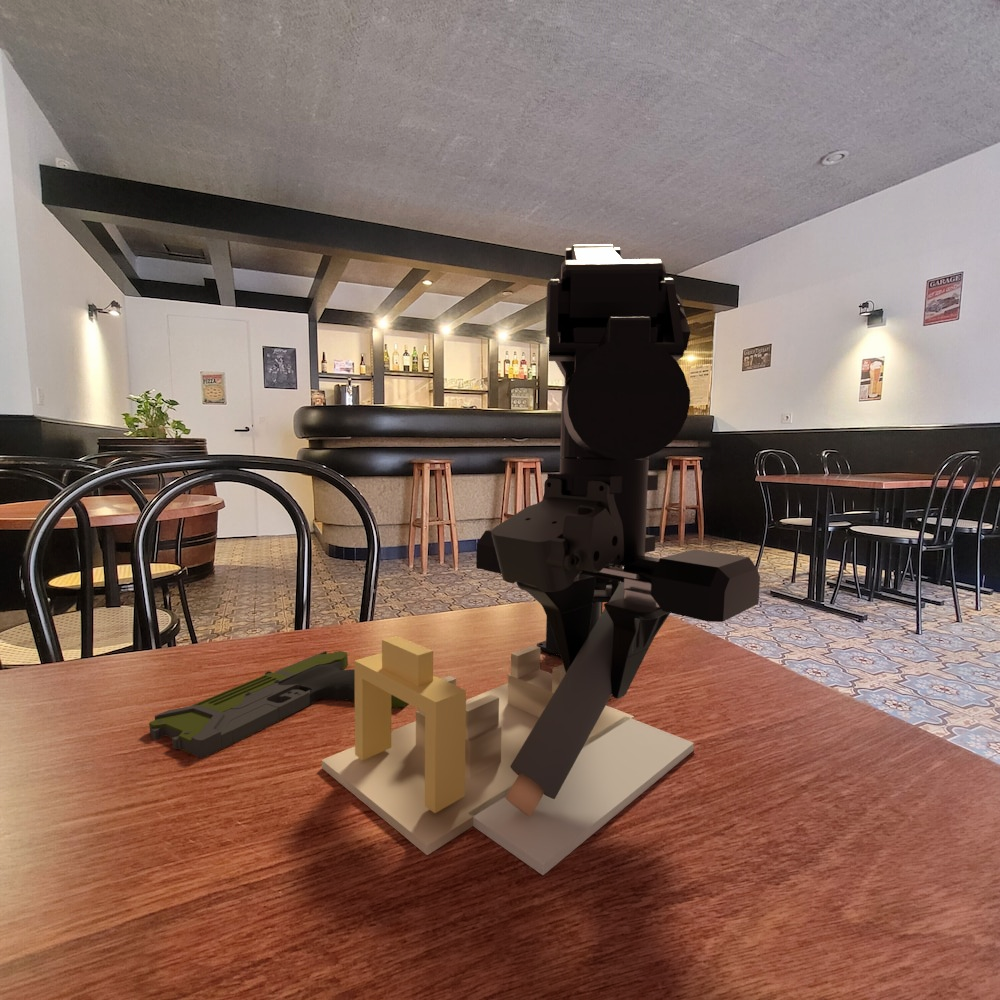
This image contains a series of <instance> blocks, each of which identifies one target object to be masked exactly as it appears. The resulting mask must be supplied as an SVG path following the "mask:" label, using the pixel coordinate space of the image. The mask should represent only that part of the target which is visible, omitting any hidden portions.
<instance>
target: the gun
mask: <svg viewBox="0 0 1000 1000" xmlns="http://www.w3.org/2000/svg"><path fill="white" fill-rule="evenodd" d="M348 664H349V663H348V652H347V651H346V652H345V651H342V650H337V651H334V652H328V653H327V650H325V651H323V652H319V653H317V654H314V655H313V656H310V657H308V658H305V659H302V660H299V661H298V662H294V663H293V664H290V665H288V666H284V667H283V668H281V669H278V670H275V671H274V672H272V671H271V670H268V671H266V672H265V673H264V675H262V676H259V677H257V678H254V679H252V680H250V681H247V682H245V683H242V684H240V685H238V686H235V687H233V688H230V689H228V690H225V691H223V692H220V693H218V694H216V695H214V696H211V697H209V698H206V699H204V700H201V701H199V702H197V703H194V704H191V705H189V706H185V707H178V708H174V709H168V710H166V711H163V712H161V713H158V714H155V715H154V720H151V721H149V722H148V725H149V735H151V739H152V740H155V741H157V740H159V739H161V738H163V737H168V738H171V740H172V741H171V742H172V743H171V745H172V749H175V750H181V751H184V752H186V753H188V754H191V755H192V756H193V755H194V756H195V757H197V758H200V759H203V758H206V757H208V756H211V755H213V754H214V753H217V752H218V751H221V750H223V749H225V748H228V747H230V746H232V745H234V744H235V743H238V742H239V741H241V740H243V739H246V738H247V737H250V736H252V735H254V734H257V732H260V731H263V730H264V729H266V728H268V727H270V726H272V725H274V724H276V723H278V722H279V721H281V720H283V719H285V718H287V717H289V716H292V715H294V714H295V713H297V712H298V711H300V710H303V709H304V708H305V709H306V707H309V706H310V705H312V704H314V703H315V702H317V701H319V700H333V701H339V702H340V701H348V702H355V668H354V669H353V668H352V669H346V668H347V666H348ZM408 705H409V704H408V703H406V702H404V701H402V700H401V699H399V698H397V697H395V696H393V695H391V708H393V709H394V708H399V709H400V708H405V707H407V706H408Z"/></svg>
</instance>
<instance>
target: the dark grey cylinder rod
mask: <svg viewBox="0 0 1000 1000" xmlns="http://www.w3.org/2000/svg"><path fill="white" fill-rule="evenodd" d="M623 597H624V582H620V584H619V586H618V587H617V589H616V591H615V592H614V594H613V596H612V597H611V599H610V601H609V602H611V601H614V600H617V599H620V598H623ZM613 629H614V625H613V622H612V620H611V618H610V616H609V614H608V612H607V610H606V609H605V608H604V609H603V610H602V614H601V616H600V617H599V619H598V621H597V622H596V624H595V626H594V627H593V629H592V631H591V632H590V634H589V636H588V637H587V639H586V641H585V642H584V644H583V646H582V647H581V649H580V651H579V652H578V654H577V656H576V657H575V659H574V661H573V662H572V664H571V666H570V667H569V669H568V671H567V672H566V674H565V676H564V677H563V679H562V681H561V682H560V684H559V686H558V687H557V689H556V691H555V693H554V694H553V696H552V698H551V699H550V701H549V703H548V704H547V706H546V708H545V709H544V711H543V713H542V714H541V716H540V718H539V719H538V721H537V723H536V724H535V726H534V728H533V729H532V731H531V733H530V734H529V736H528V738H527V739H526V741H525V743H524V744H523V746H522V748H521V749H520V751H519V753H518V754H517V756H516V758H515V759H514V761H513V763H512V764H511V766H510V767H511V769H512V770H513V771H514V772H515V773H516V774H517V775H518V777H517V779H516V781H515V782H514V784H513V786H512V787H511V789H510V791H509V793H508V794H507V796H506V799H507V800H508V801H509V802H510V803H511V804H512V805H514V806H515V807H516V808H518V809H519V810H520V811H522V812H523V813H525V814H526V815H528V816H529V817H531V816H532V814H533V812H534V810H535V809H536V807H537V805H538V803H539V801H540V800H541V798H542V796H543V794H544V795H546V796H548V797H550V798H552V799H555V798H556V796H557V794H558V792H559V790H560V789H561V787H562V785H563V783H564V781H565V779H566V778H567V776H568V774H569V772H570V770H571V768H572V766H573V765H574V763H575V761H576V759H577V757H578V755H579V754H580V752H581V750H582V748H583V746H584V744H585V742H586V741H587V739H588V737H589V735H590V733H591V731H592V730H593V728H594V726H595V724H596V722H597V720H598V719H599V717H600V715H601V713H602V711H603V709H604V707H605V706H607V703H608V702H609V700H610V698H611V696H612V687H611V665H612V647H613Z"/></svg>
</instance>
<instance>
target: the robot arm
mask: <svg viewBox="0 0 1000 1000" xmlns="http://www.w3.org/2000/svg"><path fill="white" fill-rule="evenodd" d="M564 254H565V257H564V261H563V262H562V263H561V266H560V267H561V269H559V271H557V272H556V274H555V275H553V277H552V278H550V279H549V281H548V283H547V284H546V307H545V308H546V310H545V313H546V314H545V338H548V362H555V364H556V365H557V368H558V369H559V371H560V372H561V374H562V376H563V378H564V386H562V387H561V409H560V410H561V413H560V414H561V417H560V419H561V420H560V447H559V448H560V454H559V457H560V459H559V472H556V473H555V472H553V473H552V472H551V473H547V478H546V479H545V481H544V483H543V484H544V486H543V488H544V489H543V493H544V494H543V497H542V500H540V501H539V502H537V503H534V504H532V505H531V504H530V505H529V506H526V507H525V508H523V509H521V510H520V511H518V512H516V513H515V514H514V515H512V516H510V517H509V518H506V519H505V520H504V521H502V522H501V523H499V524H498V525H496V526H495V527H493V528H492V529H488V530H487V529H486V530H485V531H484V532H483V534H482V535H481V537H480V538H479V540H477V543H476V562H475V564H476V565H475V568H476V569H477V570H483V571H487V572H493V573H496V574H499V575H500V574H501V579H502V580H503V581H505V583H506V582H507V583H509V584H515V583H516V585H517V587H518V589H520V590H523V591H526V592H527V593H528V594H530V596H531V597H532V598H534V599H535V601H537V602H538V603H539V604H540V605H541V607H542V609H543V611H544V613H545V616H546V618H545V619H546V629H545V640H543V641H541V642H538V643H537V644H536V646H537V647H540V651H543V652H546V653H549V654H552V655H554V656H557V657H560V659H561V662H562V664H563V665H564V669H565V672H567V671H568V669H569V667H570V666H571V664H572V662H573V661H574V659H575V657H576V656H577V654H578V652H579V651H580V649H581V647H582V646H583V644H584V642H585V641H586V639H587V637H588V636H589V634H590V632H591V631H592V629H593V627H594V626H595V624H596V622H597V621H598V619H599V617H600V616H601V614H602V612H603V606H604V609H606V610H607V612H608V614H609V616H610V618H611V620H612V622H613V625H614V629H613V647H612V665H611V687H612V695H611V696H612V698H614V699H616V700H619V699H621V698H623V697H625V696H626V694H627V693H628V690H629V689H630V687H631V685H632V683H633V680H634V679H635V676H636V675H637V673H638V671H639V668H640V667H641V665H642V662H643V661H644V659H645V657H646V655H647V652H648V651H649V649H650V647H651V644H652V643H653V641H654V639H655V637H656V636H657V634H658V632H659V631H660V630H661V628H662V627H663V625H664V623H666V621H667V618H668V617H669V616H670V614H674V615H678V616H682V617H686V618H691V619H696V620H699V621H703V622H711V623H712V622H714V623H715V622H717V623H719V622H720V623H724V622H725V621H728V620H729V619H731V618H733V617H735V616H737V615H739V614H741V613H743V612H745V611H747V610H749V609H751V608H753V607H755V606H757V605H759V603H760V601H759V600H760V584H761V583H760V582H761V576H760V574H759V570H758V569H757V566H756V565H755V564H754V562H753V561H752V560H751V558H750V556H745V555H744V556H743V555H736V554H731V553H730V554H729V553H721V552H715V551H709V550H702V549H700V550H699V549H691V550H687V551H683V552H680V553H675V554H672V555H668V556H664V557H660V558H659V557H652V556H646V553H651V552H655V551H656V535H650V534H647V513H648V491H649V492H650V491H658V484H659V481H658V480H659V474H649V464H650V463H649V462H650V460H649V459H650V458H649V457H651V456H653V455H654V454H657V453H659V452H661V451H662V450H664V448H666V447H667V446H668V445H670V444H671V443H672V442H673V441H674V440H675V438H676V437H677V436H678V434H679V433H680V432H681V430H682V429H683V426H684V425H685V422H686V420H687V419H688V415H689V414H688V413H689V408H690V406H691V389H690V387H689V386H688V381H687V378H686V375H685V373H684V371H683V369H682V368H681V366H680V364H679V363H678V361H680V359H681V358H683V357H684V355H685V351H687V348H688V345H689V341H690V336H691V330H690V329H691V328H690V325H689V323H688V319H687V315H686V313H685V310H684V306H683V303H682V299H681V298H680V296H679V295H678V293H677V292H676V290H677V289H676V284H675V280H674V278H672V277H667V270H666V266H665V264H664V262H663V261H662V260H661V259H660V258H640V259H639V258H637V259H636V258H634V259H633V258H632V259H629V258H627V259H623V258H622V256H621V248H620V246H619V247H617V246H616V247H615V246H614V245H613V244H611V243H610V244H607V243H606V244H605V243H604V244H573V245H572V246H571V247H565V253H564ZM620 582H624V597H623V598H620V599H617V600H614V601H611V602H609V601H610V599H611V597H612V596H613V594H614V592H615V591H616V589H617V587H618V586H619V584H620ZM603 603H604V604H603Z"/></svg>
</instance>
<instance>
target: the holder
mask: <svg viewBox="0 0 1000 1000" xmlns="http://www.w3.org/2000/svg"><path fill="white" fill-rule="evenodd" d="M565 674H566V672H565V669H564V665H563V663H561V664H559V665H558V666H555V667H553V668H552V672H548V671H546V670H543V669H541V650H540V647H537V645H531V646H528V647H525V648H522V649H520V650H517V651H514V652H511V653H510V673H509V674H508V675H507V682H506V683H505V684H504V683H503V684H502V685H500V686H497V687H494V688H492V689H490V690H487V691H484V692H482V693H480V694H478V695H475V696H473V697H471V698H470V697H469V698H468V699H466V736H465V796H464V797H462V798H461V799H459V800H457V801H456V802H454V803H452V804H450V805H449V806H447V807H445V808H443V809H442V810H440V811H438V812H437V813H434V812H432V811H431V810H430V809H428V808H427V807H426V806H425V713H424V712H423V711H421V710H419V709H417V710H416V711H415V720H414V721H413V722H410V723H407V724H405V725H402V726H400V727H398V728H395V729H393V730H391V748H389V749H387V750H385V751H383V752H380V753H378V754H376V755H373V756H371V757H369V758H367V759H364V760H362V759H360V758H359V757H357V756H356V755H355V745H354V746H352V747H349V748H346V749H345V750H344V749H343V751H339V752H337V753H335V754H332V755H330V756H328V757H325V758H323V759H321V769H322V770H323V771H325V772H326V773H327V774H329V776H331V777H332V778H333V779H334V780H336V782H338V783H339V784H340V785H342V786H343V787H344V788H345V789H346V790H348V791H349V792H350V793H351V794H353V795H354V796H355V797H356V798H357V799H358V800H360V801H361V802H362V803H364V805H366V806H367V807H368V808H369V809H371V811H373V812H375V814H377V815H378V816H379V817H380V818H381V819H382V820H384V821H385V822H386V823H388V824H389V825H390V826H391V827H392V829H395V830H396V831H397V832H398V833H400V834H401V835H402V836H403V837H404V838H406V839H407V840H408V842H410V843H411V844H413V845H414V846H415V847H416V848H418V850H420V851H421V852H422V853H424V854H425V855H426V856H428V855H430V854H432V853H433V852H435V851H437V850H438V849H439V848H441V847H443V846H444V845H446V844H447V843H449V842H450V841H452V840H455V838H457V837H458V836H460V835H462V834H463V833H465V832H466V831H468V830H469V829H471V828H473V827H474V826H473V816H475V815H473V814H475V813H476V814H478V813H480V812H479V811H481V810H482V809H483V807H484V806H487V805H488V807H489V806H491V805H493V804H494V803H496V802H497V798H498V797H497V796H499V797H500V796H502V797H501V798H503V797H505V796H507V795H506V794H508V793H509V790H510V789H511V786H513V784H514V782H515V781H516V779H517V777H518V775H517V774H516V773H515V772H514V771H513V770H512V769H511V767H510V766H511V764H512V763H513V761H514V759H515V758H516V756H517V754H518V753H519V751H520V749H521V748H522V746H523V744H524V743H525V741H526V739H527V738H528V736H529V734H530V733H531V731H532V729H533V728H534V726H535V724H536V723H537V721H538V719H539V718H540V716H541V714H542V713H543V711H544V709H545V708H546V706H547V704H548V703H549V701H550V699H551V698H552V696H553V694H554V693H555V691H556V689H557V687H558V686H559V684H560V682H561V681H562V679H563V677H564V676H565ZM441 679H443V680H445V681H447V682H449V683H451V684H453V685H456V686H457V678H456V677H453V676H451V675H448V676H445V677H444V676H443V677H442V678H441ZM622 718H623V720H625V721H623V720H621V721H623V722H622V723H624V722H626V721H627V720H628V719H630V718H632V719H634V720H635V716H634V715H632V714H629V713H627V712H624V711H622V710H619V709H616V708H614V707H611V706H609V705H606V706H605V707H604V709H603V711H602V713H601V715H600V717H599V719H598V720H597V722H596V724H595V726H594V728H593V730H592V731H591V733H590V735H589V737H588V739H589V738H591V737H592V736H593V737H595V736H594V735H596V737H598V738H600V735H599V736H598V735H597V733H598V734H600V733H602V732H601V731H603V730H604V729H605V728H606V730H609V729H607V727H609V728H610V729H611V727H612V726H613V727H614V723H615V722H617V721H619V720H620V719H622ZM624 718H627V719H624ZM612 724H613V725H612ZM618 724H619V722H618ZM610 725H612V726H611V727H610ZM620 725H621V723H620ZM618 726H619V725H618ZM618 726H616V725H615V728H616V727H618ZM613 729H614V728H612V730H613ZM599 732H600V733H599ZM604 733H606V732H604ZM603 735H604V734H602V735H601V737H602V736H603ZM590 740H591V739H590ZM588 742H589V741H588ZM588 742H587V744H589V743H588ZM590 742H591V741H590ZM593 742H594V741H593ZM585 743H586V742H585ZM584 745H585V746H586V744H584ZM585 746H584V747H585ZM509 787H510V788H509ZM504 790H505V791H506V790H507V791H508V792H505V793H506V794H505V793H504V794H505V795H502V794H503V791H504ZM501 792H502V794H499V793H501ZM492 798H493V799H492ZM495 798H496V801H495ZM489 799H491V801H490V803H489V802H488V801H489ZM493 800H494V802H493ZM499 800H500V799H499ZM486 801H487V802H488V803H489V804H487V805H484V803H486ZM492 803H493V804H492ZM481 804H482V807H481ZM478 806H480V807H479V808H478ZM475 808H478V810H479V811H478V810H477V809H475ZM473 809H475V810H476V811H478V812H476V811H475V810H473ZM472 810H473V811H472ZM483 810H484V809H483ZM483 810H482V811H483ZM471 811H472V812H471ZM472 813H473V814H472ZM470 814H471V815H470Z"/></svg>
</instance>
